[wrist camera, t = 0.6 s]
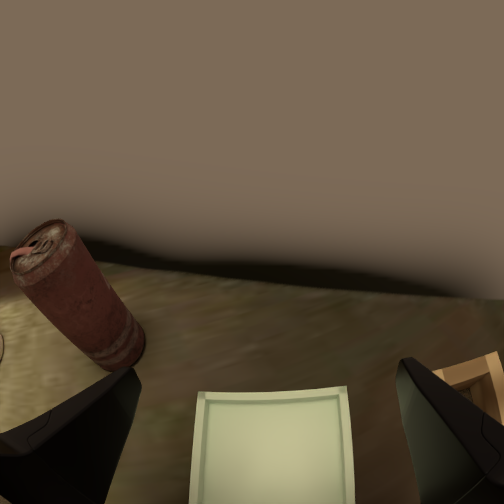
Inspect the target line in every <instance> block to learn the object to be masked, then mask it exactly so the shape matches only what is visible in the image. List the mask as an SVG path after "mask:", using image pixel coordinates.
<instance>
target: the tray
mask: <svg viewBox="0 0 504 504" xmlns="http://www.w3.org/2000/svg"><path fill="white" fill-rule="evenodd" d="M189 504H355V485H354V464H353V449H352V436H351V424H350V414H349V404H348V395H347V387H346V386H340V387H332V388H322V389H312V390H299V391H283V392H256V393H224V392H198V398H197V408H196V418H195V428H194V439H193V451H192V463H191V476H190V491H189Z"/></svg>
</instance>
